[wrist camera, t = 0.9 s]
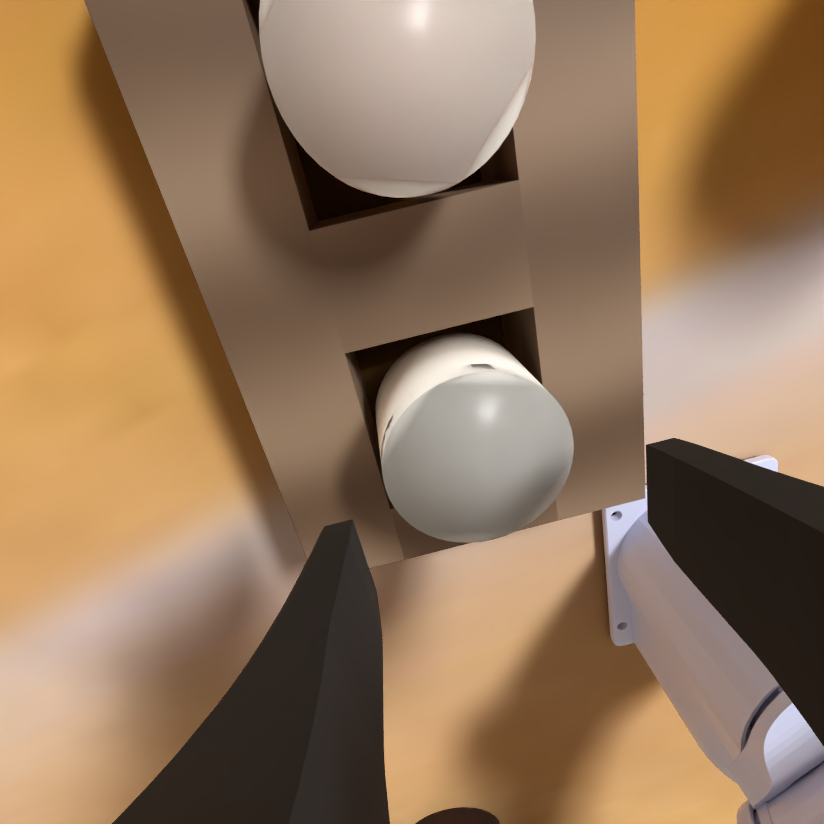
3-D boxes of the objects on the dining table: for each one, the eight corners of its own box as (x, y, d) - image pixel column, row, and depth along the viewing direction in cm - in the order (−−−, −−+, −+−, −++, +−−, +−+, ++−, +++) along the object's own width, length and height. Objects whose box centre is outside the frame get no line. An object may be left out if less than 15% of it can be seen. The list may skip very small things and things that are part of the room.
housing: (595, 445, 21) (645, 498, 18) (321, 514, 21) (316, 581, 18) (552, -161, 13) (627, -290, 10) (112, -59, 13) (24, -150, 10)
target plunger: (500, 170, 13) (548, 165, 10) (318, 215, 13) (308, 223, 10) (469, -72, 11) (517, -174, 8) (252, -21, 11) (214, -103, 8)
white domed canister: (537, 456, 17) (580, 517, 14) (395, 491, 17) (406, 561, 14) (519, 315, 15) (564, 349, 12) (357, 355, 15) (359, 400, 12)
